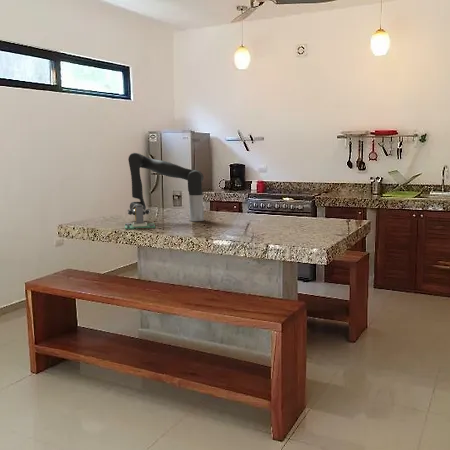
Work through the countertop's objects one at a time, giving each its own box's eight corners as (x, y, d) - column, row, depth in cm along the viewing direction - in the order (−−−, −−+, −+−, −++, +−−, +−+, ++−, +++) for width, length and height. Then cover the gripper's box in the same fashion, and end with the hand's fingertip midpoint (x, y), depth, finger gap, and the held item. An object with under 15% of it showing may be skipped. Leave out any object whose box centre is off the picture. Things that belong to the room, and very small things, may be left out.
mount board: (153, 225, 323) (153, 220, 322) (155, 228, 309) (155, 223, 308) (125, 226, 319) (124, 221, 319) (125, 229, 306) (124, 224, 305)
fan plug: (143, 221, 316) (142, 204, 315) (143, 223, 312) (143, 205, 310) (135, 222, 315) (134, 204, 314) (135, 223, 311) (134, 205, 309)
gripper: (126, 204, 325) (127, 207, 308) (149, 203, 327) (150, 206, 311) (127, 216, 326) (127, 219, 309) (149, 215, 329) (151, 219, 312)
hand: (139, 213), depth 310 cm, fingers closed on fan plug, 5 cm apart
